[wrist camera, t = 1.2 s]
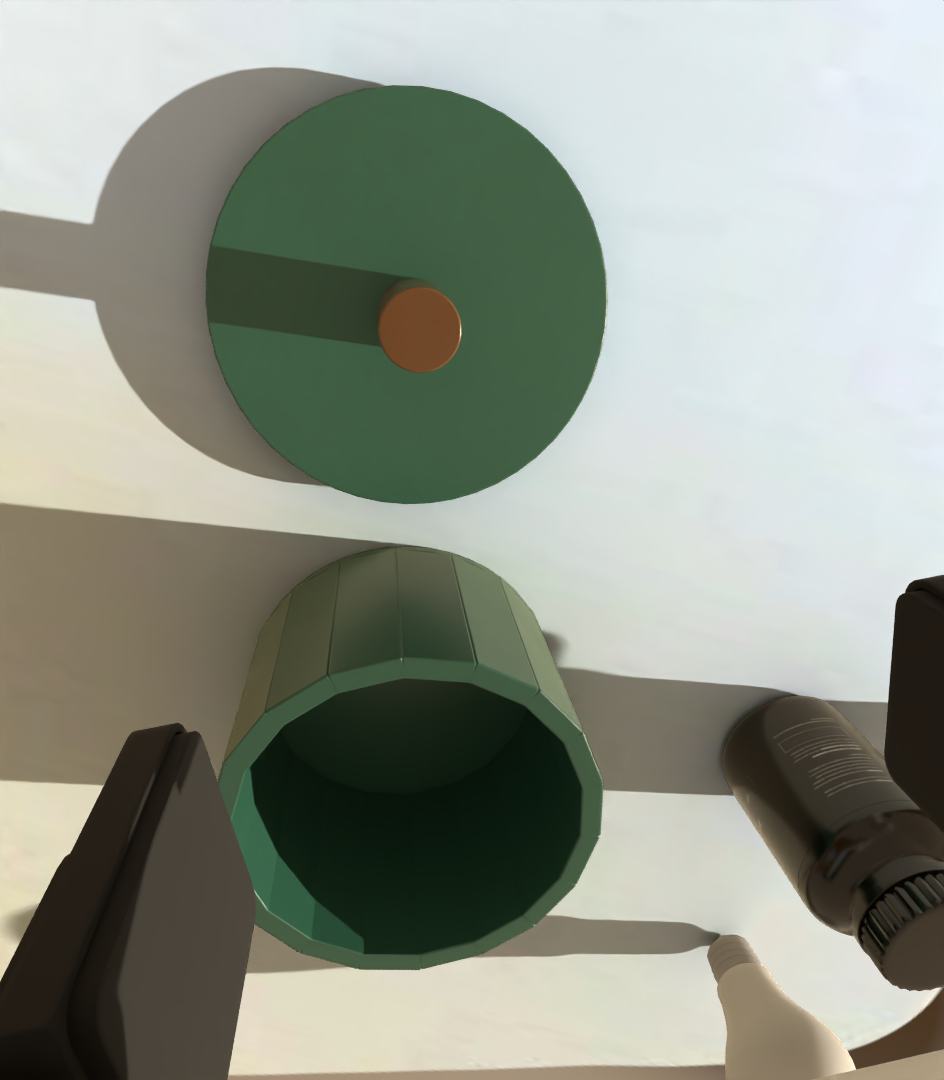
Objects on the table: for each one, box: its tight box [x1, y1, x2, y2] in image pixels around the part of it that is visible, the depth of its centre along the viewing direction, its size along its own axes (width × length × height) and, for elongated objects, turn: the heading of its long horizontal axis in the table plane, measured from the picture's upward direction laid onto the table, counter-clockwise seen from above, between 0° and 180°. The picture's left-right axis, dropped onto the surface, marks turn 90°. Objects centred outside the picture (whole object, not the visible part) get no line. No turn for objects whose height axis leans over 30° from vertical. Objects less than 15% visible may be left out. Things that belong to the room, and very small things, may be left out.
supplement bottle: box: [723, 696, 944, 991], centre depth 34 cm, size 7×7×12 cm
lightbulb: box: [707, 935, 856, 1080], centre depth 39 cm, size 6×6×11 cm
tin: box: [217, 546, 603, 970], centre depth 31 cm, size 14×14×10 cm
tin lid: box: [206, 85, 608, 504], centre depth 26 cm, size 15×15×6 cm
